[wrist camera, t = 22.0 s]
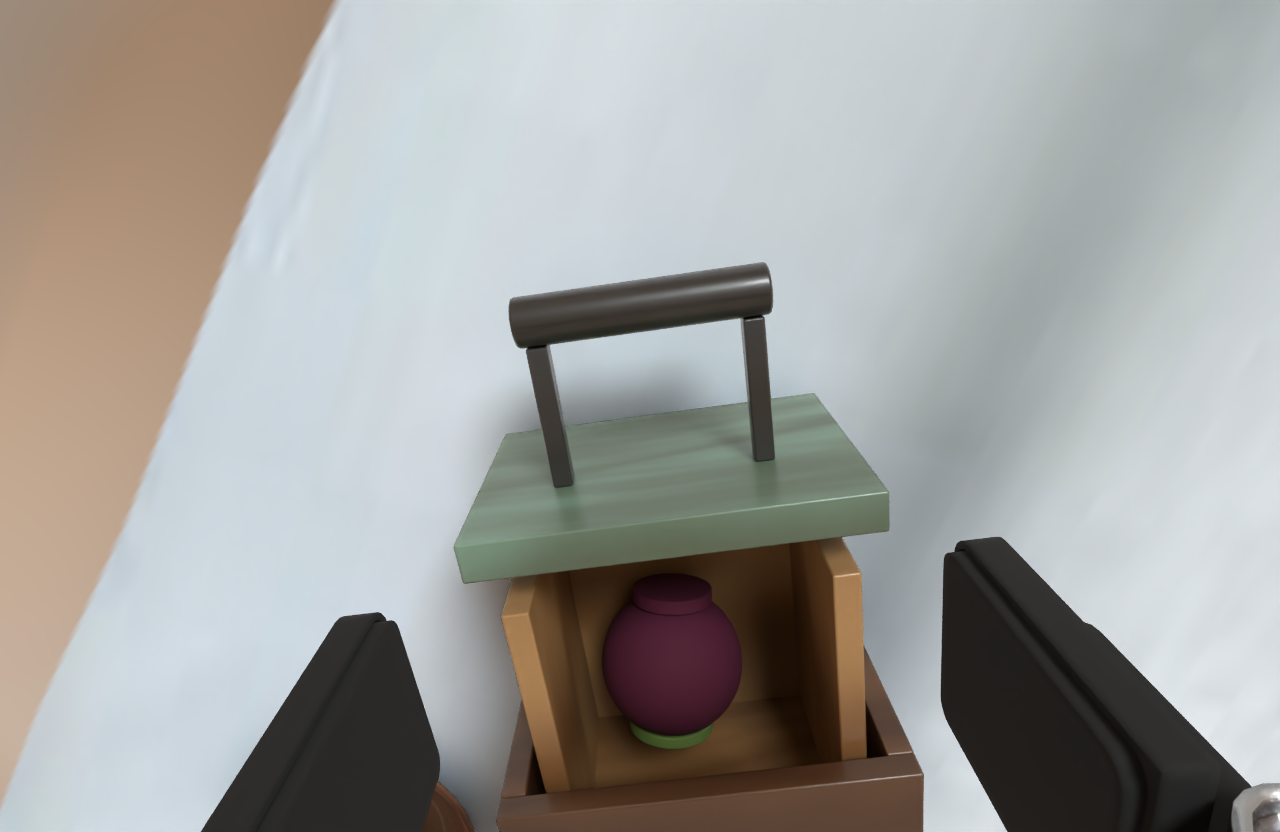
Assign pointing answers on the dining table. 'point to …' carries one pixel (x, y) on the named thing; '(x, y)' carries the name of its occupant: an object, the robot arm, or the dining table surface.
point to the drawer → (678, 543)
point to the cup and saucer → (446, 814)
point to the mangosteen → (672, 660)
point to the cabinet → (735, 791)
